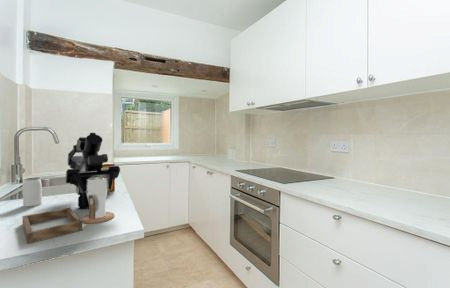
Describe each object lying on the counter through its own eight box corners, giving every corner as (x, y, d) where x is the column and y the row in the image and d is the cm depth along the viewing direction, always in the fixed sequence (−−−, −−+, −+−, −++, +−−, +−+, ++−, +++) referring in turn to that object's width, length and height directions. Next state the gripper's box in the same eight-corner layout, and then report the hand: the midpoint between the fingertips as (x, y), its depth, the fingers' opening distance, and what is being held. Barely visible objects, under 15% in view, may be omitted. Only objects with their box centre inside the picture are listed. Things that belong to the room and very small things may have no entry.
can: (20, 205, 101) (19, 179, 100) (37, 201, 106) (37, 176, 106) (27, 207, 98) (26, 180, 97) (44, 204, 103) (44, 178, 103)
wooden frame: (69, 214, 90) (69, 207, 90) (82, 229, 76) (82, 221, 76) (22, 224, 80) (22, 216, 80) (27, 243, 66) (27, 233, 66)
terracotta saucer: (114, 211, 94) (114, 210, 94) (114, 220, 84) (114, 219, 84) (83, 215, 89) (83, 214, 89) (79, 225, 79) (79, 223, 79)
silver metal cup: (105, 212, 91) (104, 175, 91) (109, 217, 86) (109, 178, 86) (85, 216, 87) (84, 177, 86) (88, 221, 82) (88, 180, 81)
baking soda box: (96, 193, 122) (95, 164, 122) (93, 191, 127) (92, 163, 126) (114, 191, 129) (114, 163, 128) (111, 189, 134) (110, 162, 133)
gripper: (66, 148, 84) (70, 182, 76) (118, 147, 97) (127, 176, 89) (63, 166, 91) (67, 199, 83) (113, 163, 103) (121, 191, 95)
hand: (97, 191), depth 87 cm, fingers open, 9 cm apart
